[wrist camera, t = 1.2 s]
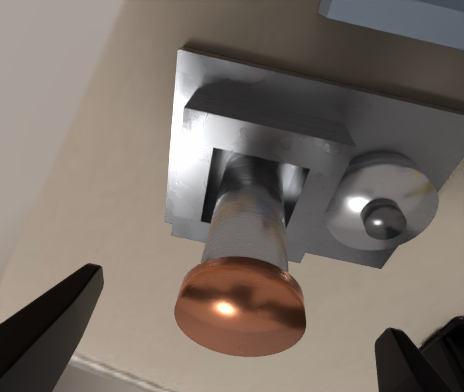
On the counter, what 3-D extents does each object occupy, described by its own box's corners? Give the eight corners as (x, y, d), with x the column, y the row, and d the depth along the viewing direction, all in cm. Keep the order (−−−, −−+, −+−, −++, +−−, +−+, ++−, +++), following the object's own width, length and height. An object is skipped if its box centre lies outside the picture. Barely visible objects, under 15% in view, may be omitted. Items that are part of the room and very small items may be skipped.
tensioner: (479, 115, 14) (530, 146, 11) (377, 259, 20) (394, 302, 17) (182, 46, 13) (160, 61, 11) (168, 214, 19) (151, 251, 17)
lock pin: (299, 146, 15) (327, 297, 8) (278, 205, 17) (283, 366, 10) (224, 129, 15) (180, 266, 7) (212, 191, 17) (170, 342, 10)
